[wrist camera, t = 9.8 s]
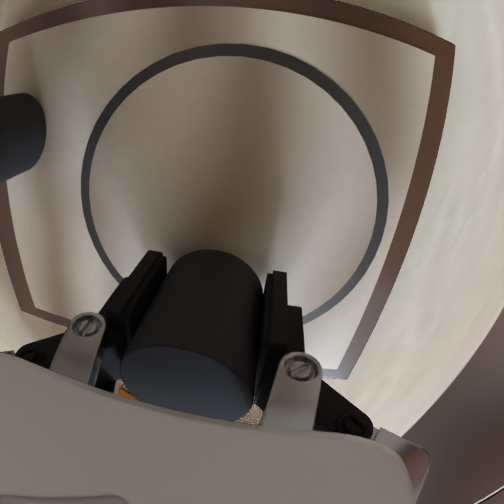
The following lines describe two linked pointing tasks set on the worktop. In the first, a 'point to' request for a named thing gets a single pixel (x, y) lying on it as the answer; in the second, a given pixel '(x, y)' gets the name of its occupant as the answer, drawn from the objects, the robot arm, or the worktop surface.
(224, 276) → the cylinder
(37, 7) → the worktop surface
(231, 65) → the sketch board
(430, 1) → the worktop surface
